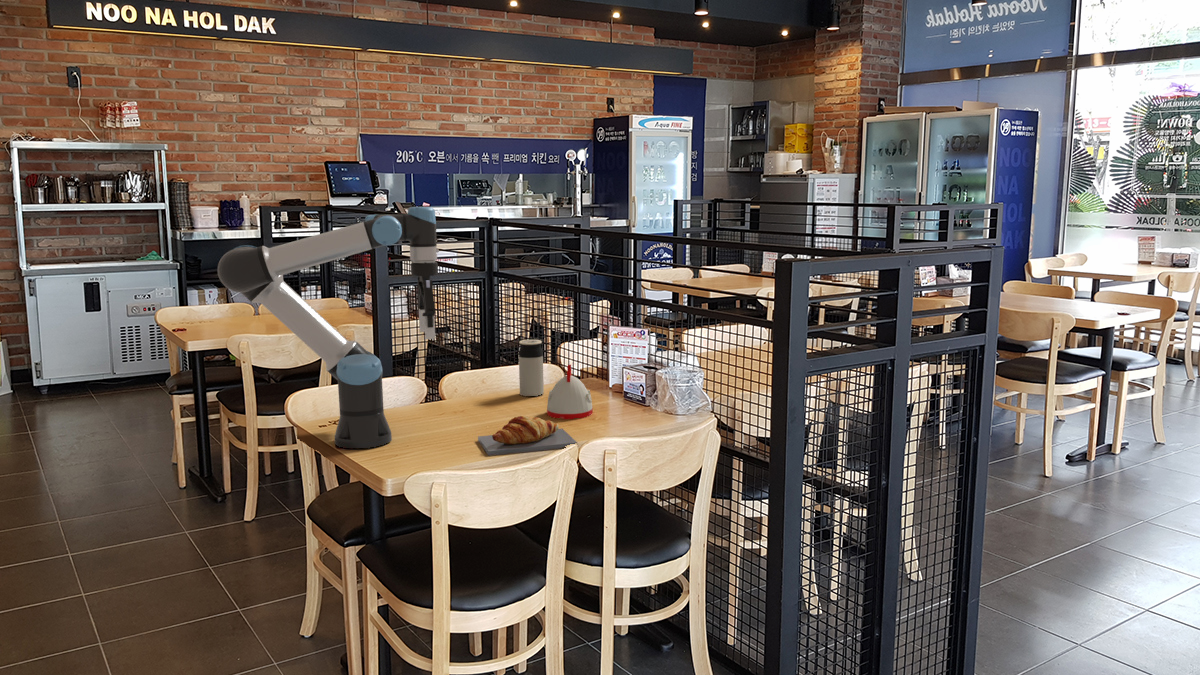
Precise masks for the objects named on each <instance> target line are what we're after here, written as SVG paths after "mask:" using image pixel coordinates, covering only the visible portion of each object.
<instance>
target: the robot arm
mask: <svg viewBox="0 0 1200 675" xmlns="http://www.w3.org/2000/svg"><path fill="white" fill-rule="evenodd" d="M364 219H365V221H362V222H357V223H355V224H354V223H353V224H351V225H347V226H345V227H340V228H337V229H333V230H330V231H329V230H328V231H325V232H323V233H319V234H315V235H311V236H308V237H304V238H301V239H298V240H294V241H291V242H286V243H284V244H279V245H275V246H272V247H267V246H265V245H262V246H261V245H260V246H258V247H257V246H253V245H248V244H247V245H245V244H244V245H239V246H236V247H234V248H233V249H230V250H229V251H227V252H225V254H223V256H221V258H220V260H219V262H218V264H217V276H218V278H219V281H220V282H221V283H222V285H223V286H224V287H225V288H226V289H228V290H230V291H233V292H236V293H241V294H242V295H243V296H244V297H245V298H246V299H248V301H250V303H254V304H255V303H257V304H258V303H259V304H261V305H262V306H263V307H264V308H265V309H266V310H268V311H269V313H271V314H272V315H273V316H275V318H277V320H279V321H280V322H281V323H282V324H283V325H284V326H286V328H288V329H289V330H290V332H291V333H293V334H294V335H295V336H296V337H298V339H299V340H300V341H302V343H304V344H305V345H306V346H307V347H309V349H311V350H312V351H313V352H314V353H315V354H316V355H317V356H318V357H319V358H320V359H321V360H322V361H324V362H325V367H326V368H325V370H326V372H328V373H329V374H330V375H331V376H332V377H333V378H334V379H335V380H336V381H337V387H338V390H337V391H338V402H339V403H338V404H339V419H338V421H337V422H338V423H337V425H336V426H337V427H336V429H335V433H334V445H335V444H336V445H337V446H340V447H345V448H368V449H370V448H369V447H374V448H377V447H376V446H379V445H383V446H385V445H387V444H386V443H388V442H389V443H391V442H392V440H393V439H392V436H393V435H392V431H391V428H390V425H389V423H388V422H389V421H387V417H386V415H385V411H384V410H385V409H384V392H383V374H384V373H383V366H382V362H381V360H380V358H378V357H377V356H376V355H375V354H374V353H372V352H371V351H368V350H367V349H366V348H365V347H363V346H362V345H361V344H360V343H359V342H358V341H357V340H348V339H347V338H345V336H343V334H342V333H340V332H339V331H338V330H337V329H336V328H335V327H334V326H332V324H331V323H330V322H328V320H326V319H325V318H324V317H323V316H322V315H321V314H320V313H319V312H318V311H316V309H314V308H313V307H312V306H311V305H310V304H308V302H307V301H306V300H304V299H303V298H302V297H301V296H300V295H299V294H298V293H297V292H296V291H295V290H294V289H293V288H292V287H291V286H289V285H288V284H287V283H286V282H285V281H284V275H287V274H290V273H294V272H297V271H301V270H304V269H308V268H311V267H314V266H318V265H322V264H325V263H328V262H332V261H336V260H339V259H342V258H346V257H350V256H353V255H357V254H360V253H363V252H367V251H370V250H373V249H377V248H381V247H385V246H388V247H389V246H392V245H394V244H396V243H398V242H407V241H408V242H409V260H410V261H411V263H410V274H411V276H413V277H417V278H416V279H417V283H416V284H417V303H416V304H417V306H418V322H419V323H418V325H419V326H418V327H419V333H424V337H425V338H424V339H425V340H435V339H436V324H435V322H436V321H435V320H436V319H435V315H436V309H435V297H434V283H433V280H432V279H431V276H432V277H433V276H437V275H438V273H439V267H438V266H439V264H438V262H437V260H438V254H439V252H440V250H439V249H438V248H437V244H438V243H437V241H438V240H437V221H436V211H435V208H433V207H432V206H410V207H408V210H407V213H405V214H370V215H369V214H368V215H366V216H365V218H364ZM390 441H391V442H390ZM389 443H388V444H389ZM384 444H385V445H384ZM336 445H335V446H336ZM337 446H336V447H337ZM340 447H339V448H340ZM379 447H380V446H379Z"/></svg>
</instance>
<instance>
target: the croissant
mask: <svg viewBox="0 0 1200 675" xmlns="http://www.w3.org/2000/svg"><path fill="white" fill-rule="evenodd" d="M559 427H560V426H559V423H557V422H556V423H555V422H554V421H551V420H550V419H547V420H545V419H542V418H541V417H538V416H536V417H533V418H531V417H529V416H526V415H519V416H514V417H513V418H511V419H509V420H508V423H507V424H505V425H504V426H502V428H501V429H500V430H497V431H496V432H495V434H491V435H492V438H493V440H495V441H497V442H499V443H506V444H519V443H529V442H534V441H538V440H541V439H542V438H544V437H547V436H549V435H550V434H551V433H555V432H556V431H557V430H558V429H560V428H559Z"/></svg>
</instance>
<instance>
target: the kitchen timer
mask: <svg viewBox="0 0 1200 675" xmlns="http://www.w3.org/2000/svg"><path fill="white" fill-rule="evenodd" d="M566 368H567V369H566V373H567V375H565V376H563V377H561V378H560V379H559V380H558V381H557V382H556V383H555V384H554V386H553V388H552V389H550V390H549V391H548V392H549V393H548V397H547V408H546V412H547V414H548V415H549V416H548V415H547V416H548V417H550V416H551V417H550V418H553V417H555V418H554V419H558V418H562V419H561V420H575V419H574V418H579V419H584V417H585V418H588V417H590V416H592V415H593V414H592V413H594V412H593V409H594V408H593V404H592V402H593V401H592V395H591V390H590V389H587V388H586V386H585V384H584V383H583V382H582V381H581V380H580V379H579V378H578V377H576V376H574V375H572V364H567V367H566ZM591 414H592V415H591ZM587 416H588V417H587Z"/></svg>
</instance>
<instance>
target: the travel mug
mask: <svg viewBox="0 0 1200 675" xmlns="http://www.w3.org/2000/svg"><path fill="white" fill-rule="evenodd" d="M518 343H519V345H520V348H519V351H518V371H519V373H518V375H519V380H518V381H519V395H520V396H522V395H523V396H522V397H526V396H536V397H539V396H538V395H540V396H542V395H544V394H545V393H544V392H545V390H544V388H545V387H544V351H543V348H542V343H543V342H542V340H540V339H522V340H520V341H519V342H518ZM543 393H544V394H543ZM541 394H542V395H541Z"/></svg>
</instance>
